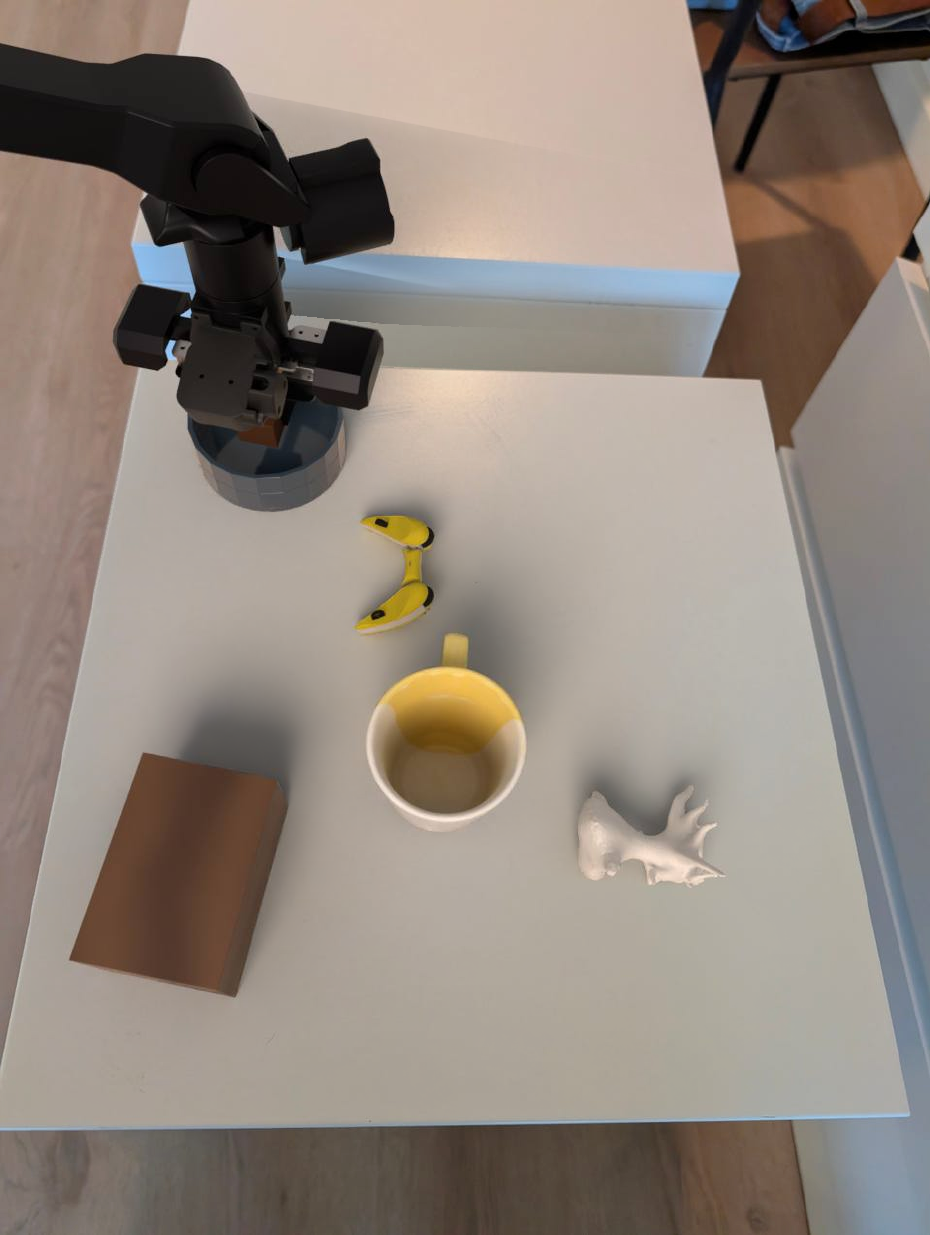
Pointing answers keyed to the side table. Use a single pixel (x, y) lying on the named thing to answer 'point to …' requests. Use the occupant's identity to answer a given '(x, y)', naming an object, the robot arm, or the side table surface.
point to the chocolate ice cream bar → (264, 432)
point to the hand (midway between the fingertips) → (265, 417)
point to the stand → (184, 876)
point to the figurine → (644, 843)
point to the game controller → (413, 592)
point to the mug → (446, 743)
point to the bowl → (274, 459)
